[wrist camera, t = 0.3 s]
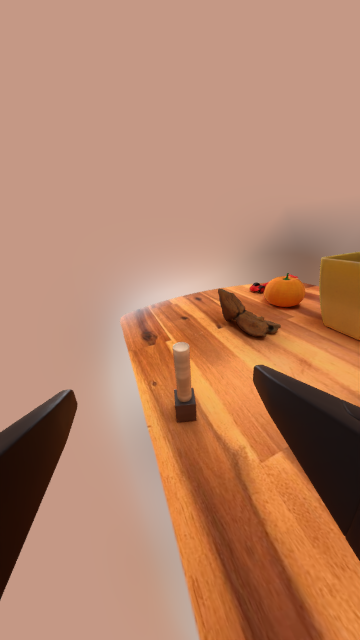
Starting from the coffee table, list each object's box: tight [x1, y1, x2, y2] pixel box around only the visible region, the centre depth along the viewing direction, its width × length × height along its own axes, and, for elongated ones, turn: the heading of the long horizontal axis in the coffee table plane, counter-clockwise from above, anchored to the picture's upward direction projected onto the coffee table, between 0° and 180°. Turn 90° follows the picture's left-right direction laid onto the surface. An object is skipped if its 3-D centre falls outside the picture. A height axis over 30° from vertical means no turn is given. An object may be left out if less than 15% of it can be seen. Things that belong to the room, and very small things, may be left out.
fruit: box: [264, 273, 305, 307], centre depth 59 cm, size 12×12×10 cm
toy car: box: [250, 275, 297, 293], centre depth 73 cm, size 6×18×5 cm, turn 97°
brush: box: [173, 342, 196, 422], centre depth 25 cm, size 3×3×12 cm
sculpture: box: [218, 289, 281, 337], centre depth 47 cm, size 8×10×15 cm
